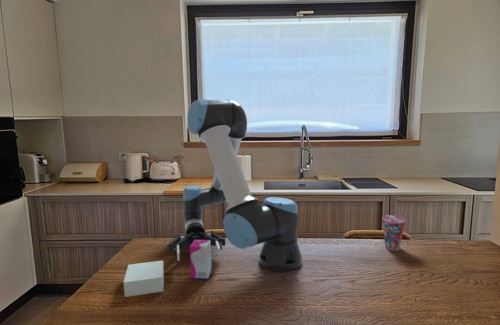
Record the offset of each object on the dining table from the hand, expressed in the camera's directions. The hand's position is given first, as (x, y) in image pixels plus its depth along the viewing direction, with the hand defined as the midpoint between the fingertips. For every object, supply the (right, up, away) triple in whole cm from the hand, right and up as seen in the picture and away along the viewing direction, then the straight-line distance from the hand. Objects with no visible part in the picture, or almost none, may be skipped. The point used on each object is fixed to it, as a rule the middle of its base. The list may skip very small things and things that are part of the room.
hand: (199, 254), depth 107 cm
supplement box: (+1, -7, -1) cm, 7 cm away
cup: (+73, -3, +17) cm, 75 cm away
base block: (-16, -8, -6) cm, 19 cm away
